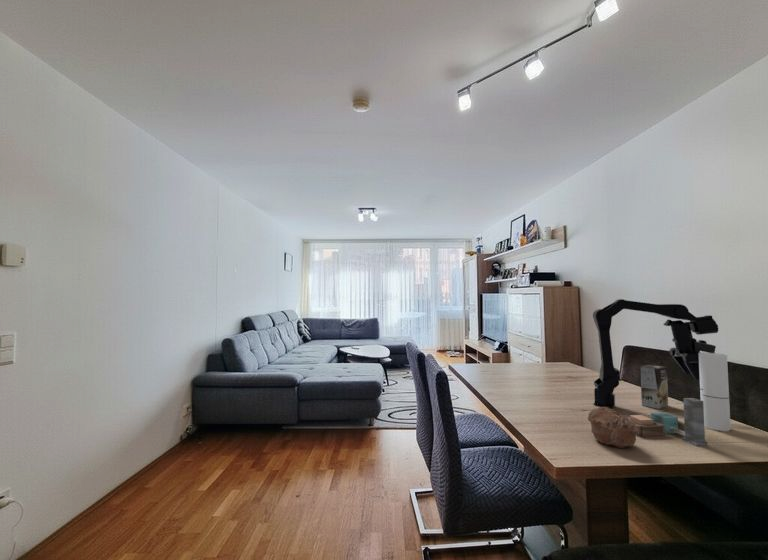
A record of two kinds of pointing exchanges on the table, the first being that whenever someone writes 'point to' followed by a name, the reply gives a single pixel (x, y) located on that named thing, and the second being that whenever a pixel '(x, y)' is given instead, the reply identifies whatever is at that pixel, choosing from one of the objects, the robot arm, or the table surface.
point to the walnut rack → (655, 429)
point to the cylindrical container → (714, 390)
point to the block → (641, 420)
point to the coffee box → (654, 386)
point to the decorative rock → (612, 427)
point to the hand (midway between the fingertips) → (692, 376)
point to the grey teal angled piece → (686, 422)
